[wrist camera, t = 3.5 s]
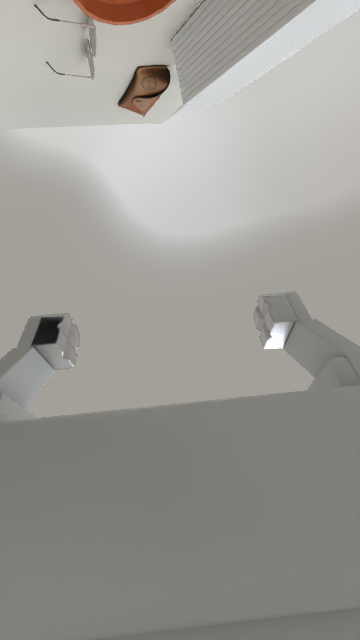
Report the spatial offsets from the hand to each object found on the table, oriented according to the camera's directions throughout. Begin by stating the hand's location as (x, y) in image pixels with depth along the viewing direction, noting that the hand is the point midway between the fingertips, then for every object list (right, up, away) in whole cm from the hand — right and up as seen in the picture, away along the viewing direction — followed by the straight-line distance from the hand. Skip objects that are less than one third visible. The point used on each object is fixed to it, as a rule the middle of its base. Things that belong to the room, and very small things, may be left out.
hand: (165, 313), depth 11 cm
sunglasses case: (-10, +60, +54) cm, 82 cm away
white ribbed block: (+12, +56, +30) cm, 64 cm away
